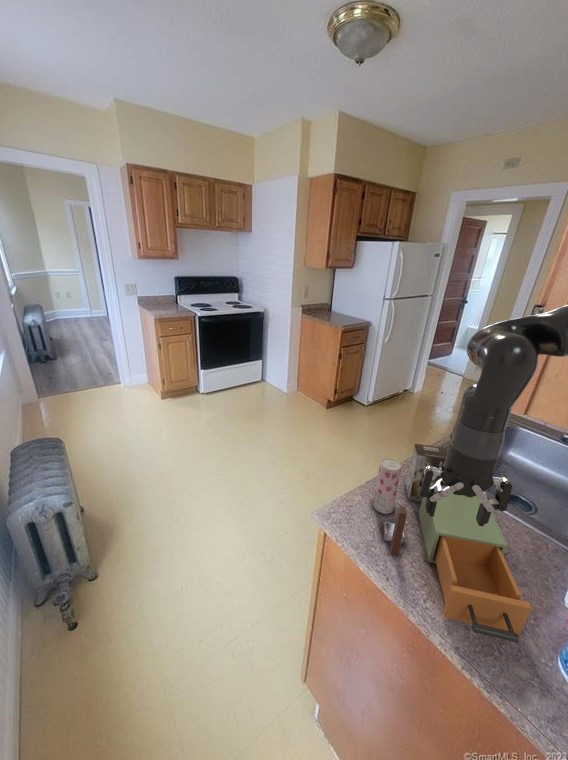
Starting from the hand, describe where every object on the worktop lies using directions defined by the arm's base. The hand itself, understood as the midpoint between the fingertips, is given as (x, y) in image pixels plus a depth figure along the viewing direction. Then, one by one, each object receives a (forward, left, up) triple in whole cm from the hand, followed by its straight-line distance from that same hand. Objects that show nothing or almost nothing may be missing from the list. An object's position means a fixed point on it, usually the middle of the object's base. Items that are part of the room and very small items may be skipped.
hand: (454, 518), depth 61 cm
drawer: (-8, 0, -21) cm, 22 cm away
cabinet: (-8, -16, -22) cm, 28 cm away
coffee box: (-3, -32, -22) cm, 39 cm away
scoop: (+7, -12, -22) cm, 26 cm away
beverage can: (+9, -24, -22) cm, 34 cm away
